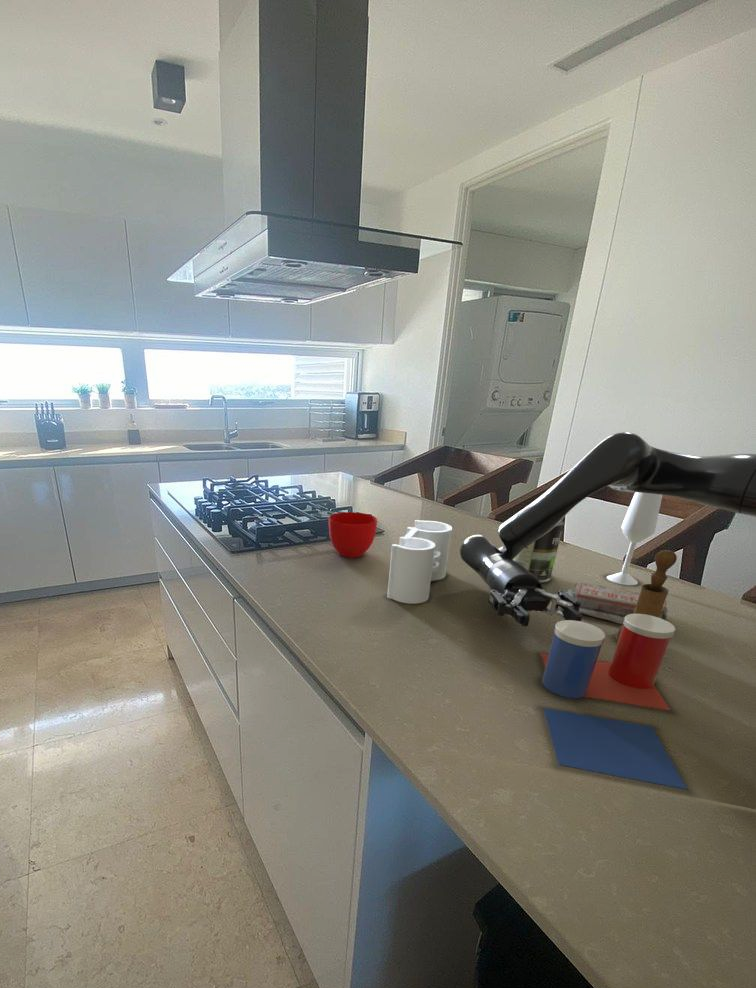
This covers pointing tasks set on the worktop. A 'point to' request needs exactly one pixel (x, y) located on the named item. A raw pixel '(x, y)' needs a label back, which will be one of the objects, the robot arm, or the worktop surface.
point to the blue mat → (611, 748)
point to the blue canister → (572, 658)
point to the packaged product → (607, 602)
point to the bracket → (418, 561)
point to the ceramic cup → (352, 532)
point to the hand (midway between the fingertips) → (552, 621)
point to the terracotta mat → (619, 689)
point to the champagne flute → (637, 529)
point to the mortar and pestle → (655, 587)
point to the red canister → (640, 650)
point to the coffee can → (541, 554)
